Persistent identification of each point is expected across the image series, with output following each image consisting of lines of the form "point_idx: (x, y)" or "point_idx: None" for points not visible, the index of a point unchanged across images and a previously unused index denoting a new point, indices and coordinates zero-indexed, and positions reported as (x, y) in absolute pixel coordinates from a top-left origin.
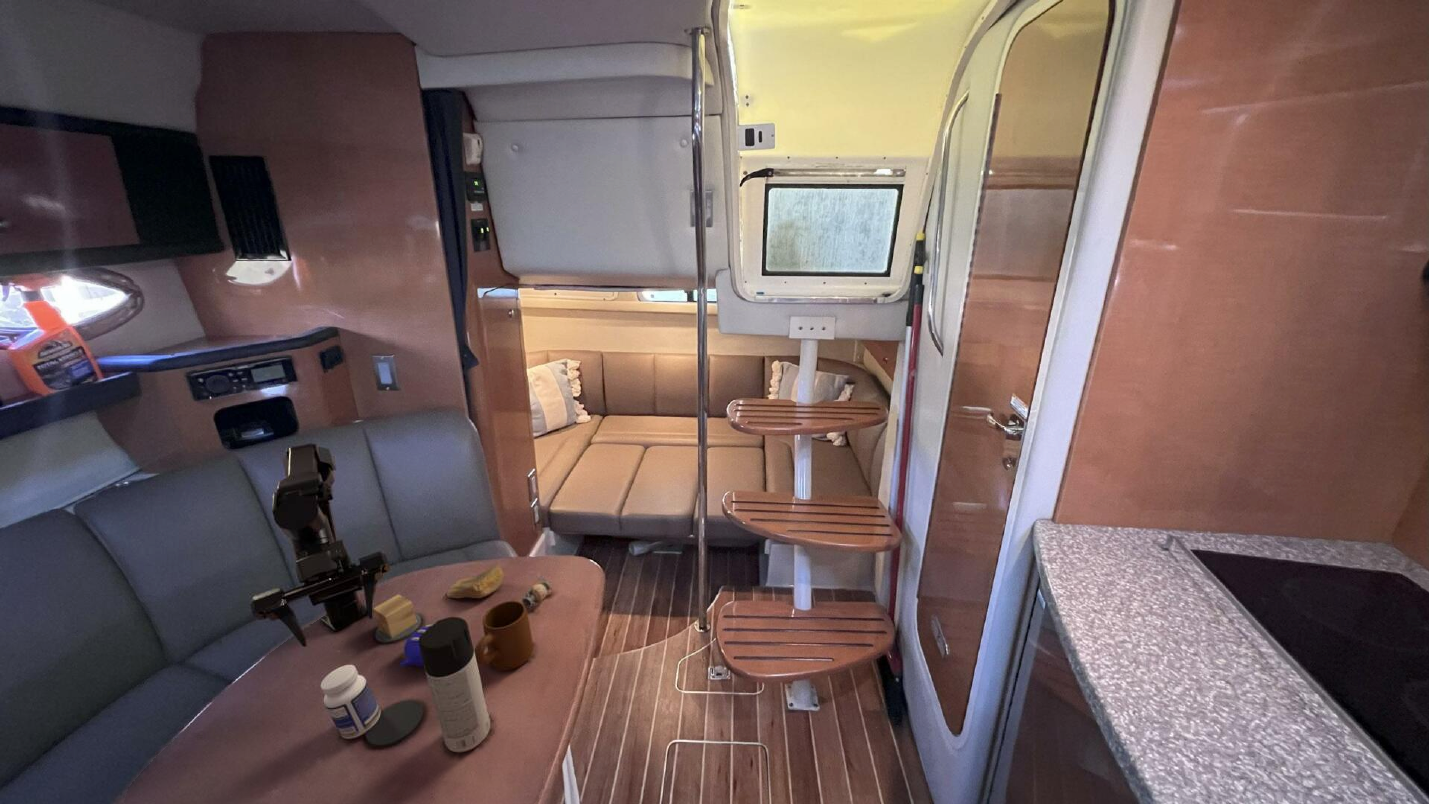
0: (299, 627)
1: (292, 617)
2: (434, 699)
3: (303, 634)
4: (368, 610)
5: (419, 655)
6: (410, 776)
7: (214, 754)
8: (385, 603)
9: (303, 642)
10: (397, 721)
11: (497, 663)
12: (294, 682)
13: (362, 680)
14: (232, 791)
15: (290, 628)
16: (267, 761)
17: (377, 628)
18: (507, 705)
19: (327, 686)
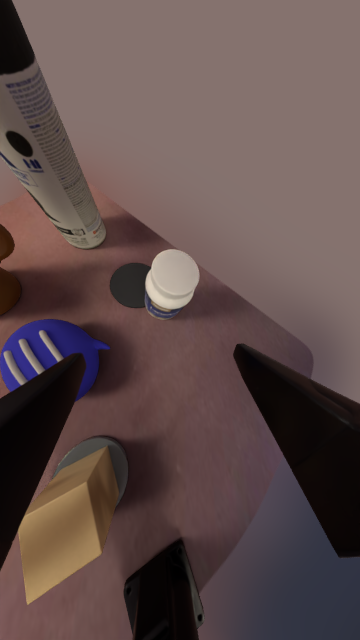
0: (275, 391)
1: (345, 415)
2: (72, 148)
3: (250, 385)
4: (61, 366)
5: (77, 334)
6: (137, 231)
7: (273, 355)
8: (70, 563)
9: (244, 347)
10: (134, 282)
11: (8, 274)
12: (225, 426)
13: (148, 276)
14: (249, 303)
15: (308, 379)
16: (232, 316)
17: (121, 497)
18: (42, 238)
19: (190, 261)
